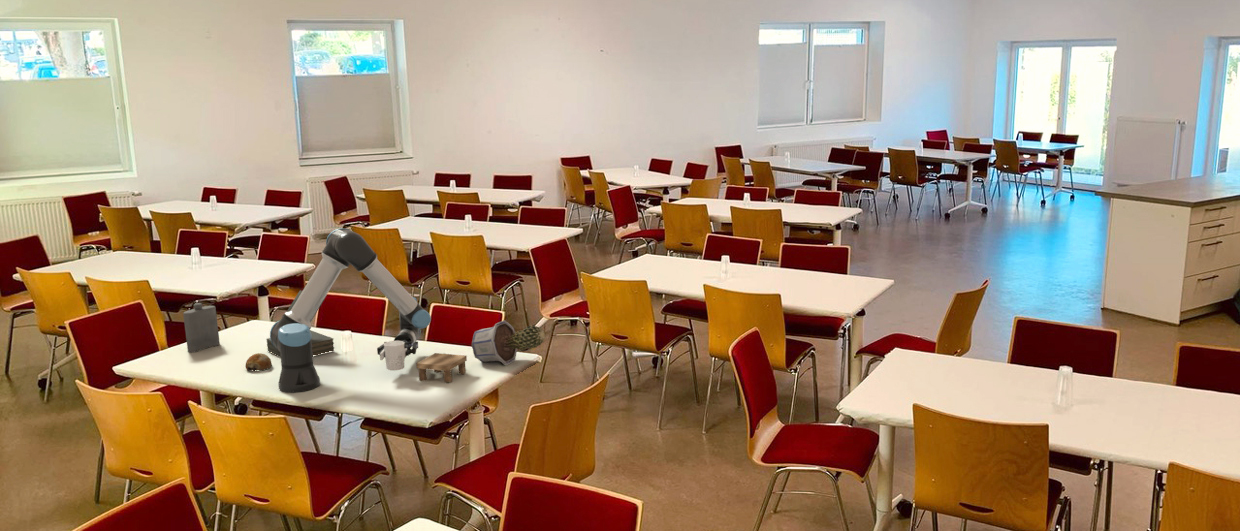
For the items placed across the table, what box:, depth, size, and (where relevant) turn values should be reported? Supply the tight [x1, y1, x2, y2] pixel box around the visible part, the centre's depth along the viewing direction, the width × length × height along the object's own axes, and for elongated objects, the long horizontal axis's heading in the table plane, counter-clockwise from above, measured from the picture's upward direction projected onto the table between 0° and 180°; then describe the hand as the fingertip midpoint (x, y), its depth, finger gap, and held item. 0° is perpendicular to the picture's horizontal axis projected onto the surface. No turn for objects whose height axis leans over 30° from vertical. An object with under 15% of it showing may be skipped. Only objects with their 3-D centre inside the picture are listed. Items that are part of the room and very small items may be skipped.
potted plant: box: [471, 319, 546, 366], centre depth 389 cm, size 18×18×30 cm
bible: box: [266, 289, 335, 357], centre depth 413 cm, size 23×20×25 cm
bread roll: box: [245, 352, 273, 372], centre depth 394 cm, size 10×10×8 cm
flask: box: [182, 302, 220, 353], centre depth 424 cm, size 15×6×20 cm, turn 149°
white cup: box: [383, 340, 406, 371], centre depth 375 cm, size 8×8×10 cm
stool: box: [416, 352, 467, 384], centre depth 375 cm, size 14×14×7 cm
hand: (391, 356), depth 371 cm, fingers closed on white cup, 8 cm apart
